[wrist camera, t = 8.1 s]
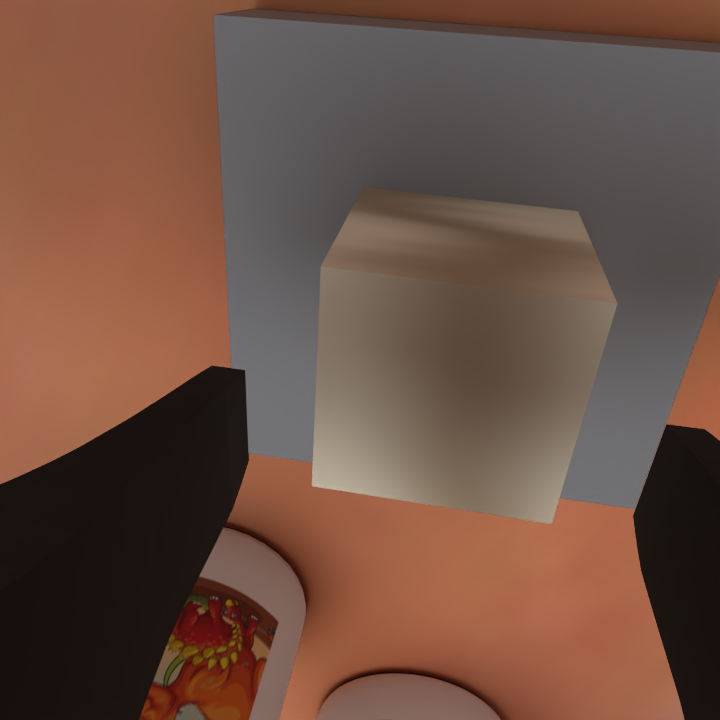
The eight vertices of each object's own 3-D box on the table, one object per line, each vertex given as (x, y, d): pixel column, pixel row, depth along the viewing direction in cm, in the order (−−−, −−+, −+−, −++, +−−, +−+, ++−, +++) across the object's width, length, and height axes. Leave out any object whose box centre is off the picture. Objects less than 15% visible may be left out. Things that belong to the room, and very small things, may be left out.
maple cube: (350, 366, 18) (311, 486, 14) (363, 186, 16) (320, 266, 11) (533, 391, 18) (551, 523, 13) (578, 211, 15) (617, 303, 11)
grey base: (262, 398, 23) (235, 451, 20) (253, 9, 17) (213, 14, 14) (616, 446, 22) (634, 508, 19) (745, 44, 16) (798, 58, 13)
